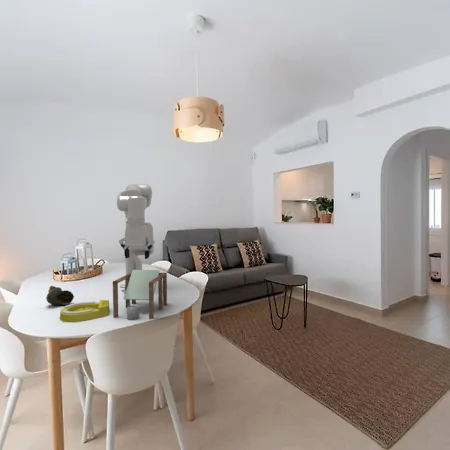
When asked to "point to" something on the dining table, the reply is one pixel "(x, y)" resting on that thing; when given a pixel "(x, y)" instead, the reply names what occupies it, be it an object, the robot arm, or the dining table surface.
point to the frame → (161, 293)
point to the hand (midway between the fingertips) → (137, 258)
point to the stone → (132, 312)
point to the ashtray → (84, 311)
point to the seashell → (59, 296)
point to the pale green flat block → (140, 284)
